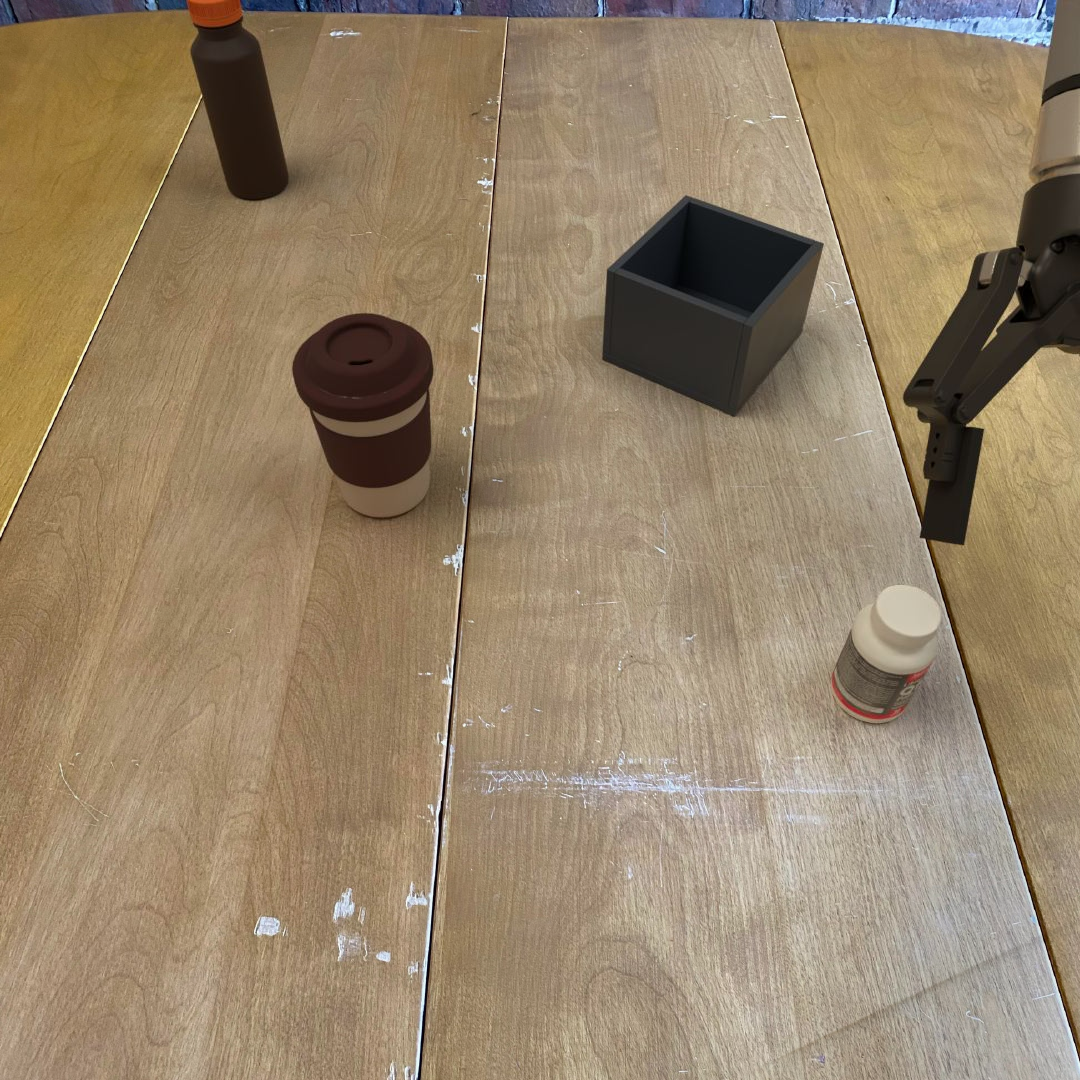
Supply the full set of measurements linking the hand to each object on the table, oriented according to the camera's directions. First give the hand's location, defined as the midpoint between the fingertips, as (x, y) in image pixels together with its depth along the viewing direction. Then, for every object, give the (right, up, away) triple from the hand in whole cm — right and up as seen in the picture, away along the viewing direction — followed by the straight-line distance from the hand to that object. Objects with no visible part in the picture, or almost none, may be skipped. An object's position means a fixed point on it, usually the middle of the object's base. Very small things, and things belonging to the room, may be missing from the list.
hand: (1031, 553), depth 58 cm
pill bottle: (-6, -10, +10) cm, 15 cm away
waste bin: (-14, +19, +33) cm, 41 cm away
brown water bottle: (-60, +40, +51) cm, 89 cm away
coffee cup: (-42, +5, +22) cm, 48 cm away
